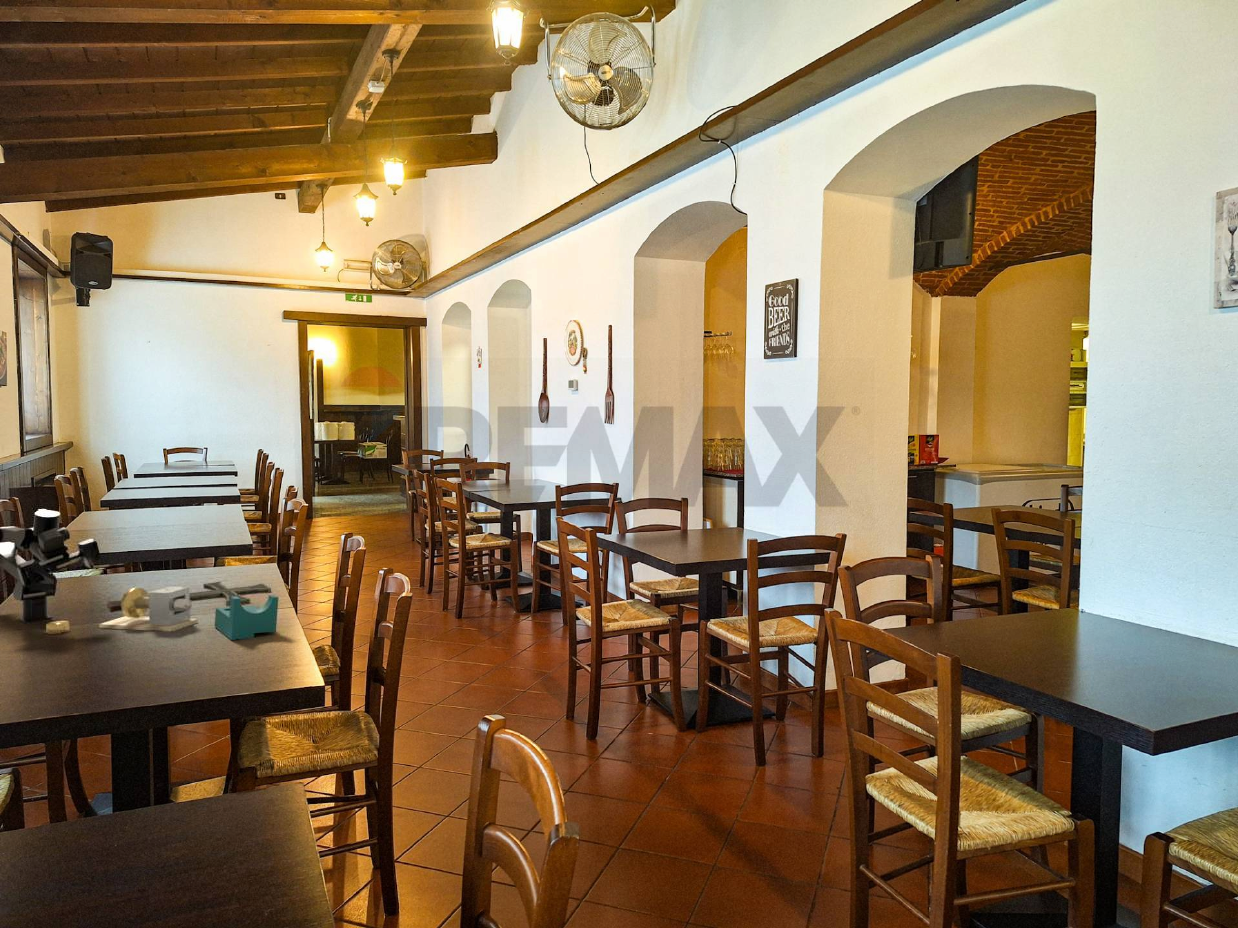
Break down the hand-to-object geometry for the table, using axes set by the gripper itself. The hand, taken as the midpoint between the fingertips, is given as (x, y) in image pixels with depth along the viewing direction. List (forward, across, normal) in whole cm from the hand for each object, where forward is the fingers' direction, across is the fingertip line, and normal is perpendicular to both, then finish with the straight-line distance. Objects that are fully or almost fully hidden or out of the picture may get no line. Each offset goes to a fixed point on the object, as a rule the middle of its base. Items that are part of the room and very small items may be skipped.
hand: (73, 574), depth 220 cm
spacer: (0, -7, +15) cm, 17 cm away
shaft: (+14, +13, +14) cm, 24 cm away
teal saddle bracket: (+38, +24, +13) cm, 46 cm away
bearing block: (+17, +14, +15) cm, 27 cm away
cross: (-10, +32, +31) cm, 45 cm away
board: (+12, +11, +16) cm, 23 cm away
